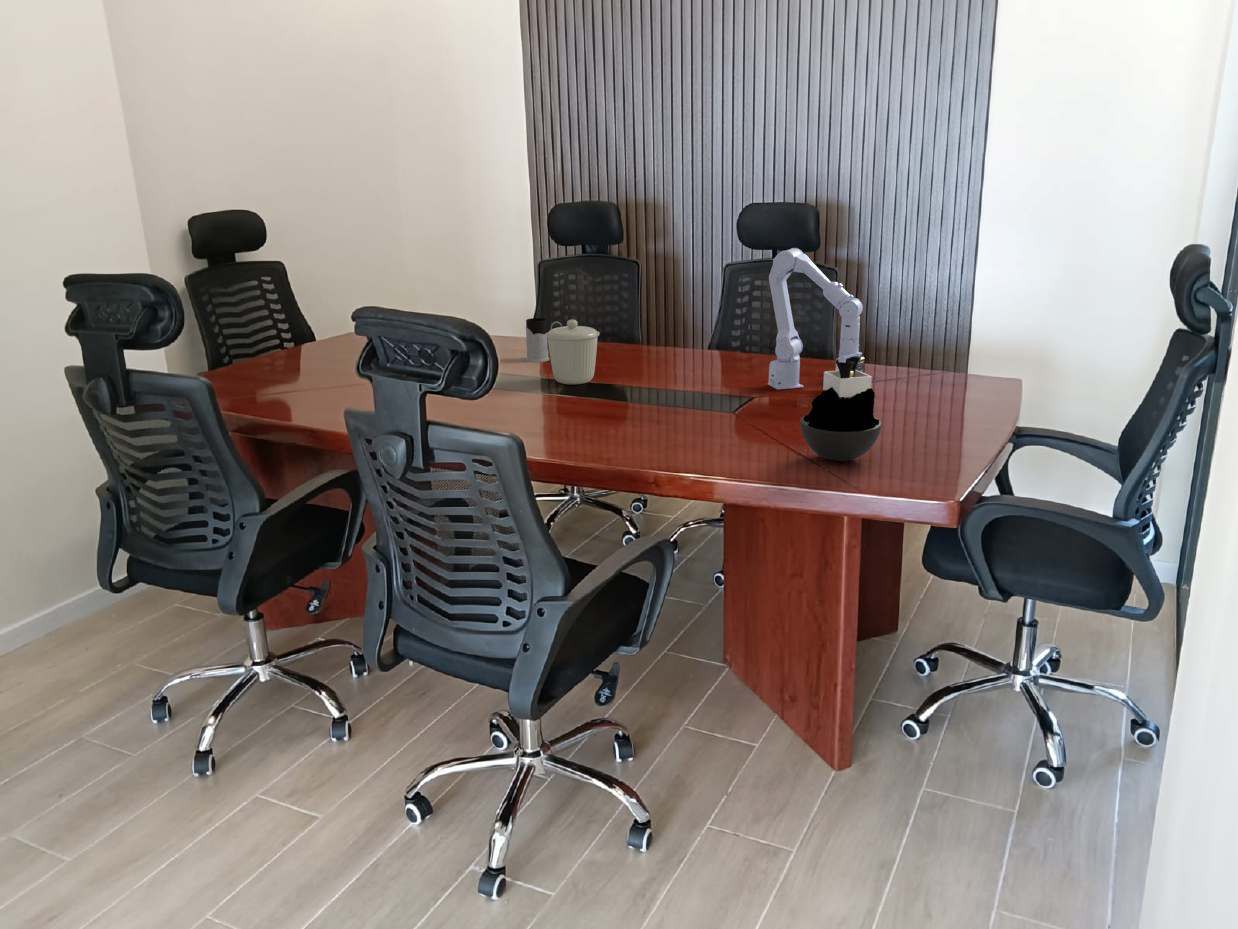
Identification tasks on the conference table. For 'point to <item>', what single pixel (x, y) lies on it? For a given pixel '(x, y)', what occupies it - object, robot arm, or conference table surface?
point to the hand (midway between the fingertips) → (847, 380)
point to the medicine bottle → (860, 365)
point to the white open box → (847, 383)
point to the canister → (573, 353)
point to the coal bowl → (841, 425)
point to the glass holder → (537, 340)
